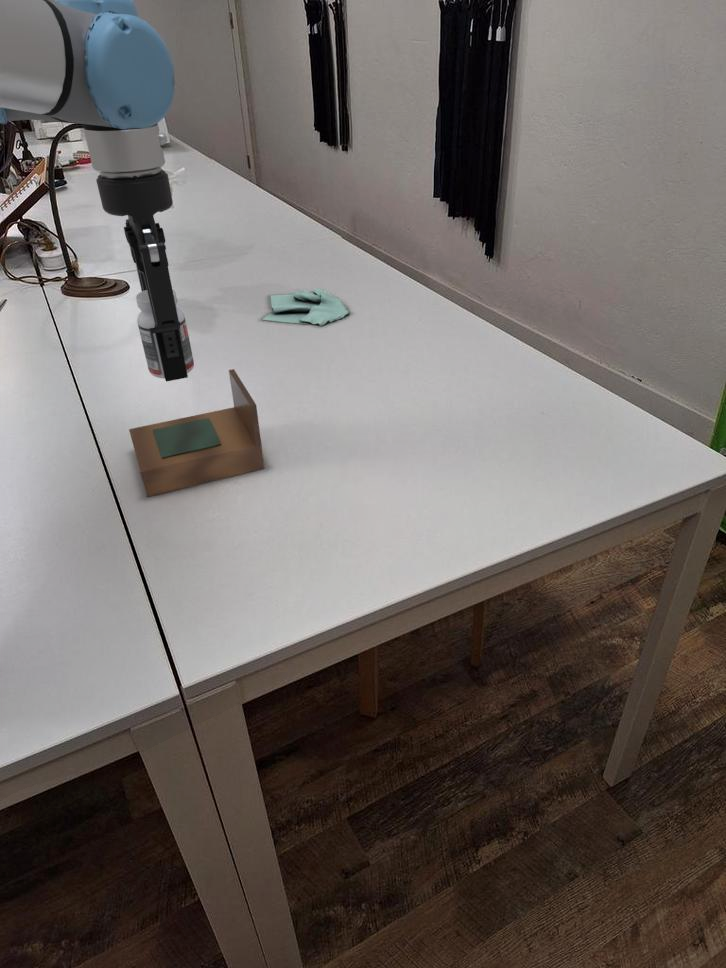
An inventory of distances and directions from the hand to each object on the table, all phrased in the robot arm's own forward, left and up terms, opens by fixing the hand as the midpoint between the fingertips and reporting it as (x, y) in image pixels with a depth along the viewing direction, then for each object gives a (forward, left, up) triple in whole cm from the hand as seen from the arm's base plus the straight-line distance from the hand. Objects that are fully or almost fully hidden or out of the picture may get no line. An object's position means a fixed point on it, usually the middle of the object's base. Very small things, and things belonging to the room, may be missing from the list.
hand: (172, 368), depth 84 cm
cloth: (+35, +52, -15) cm, 65 cm away
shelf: (+1, 0, -15) cm, 15 cm away
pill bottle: (0, 0, 0) cm, 0 cm away
